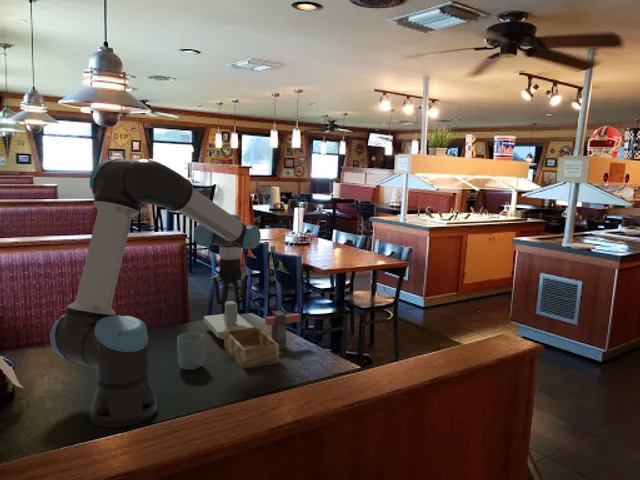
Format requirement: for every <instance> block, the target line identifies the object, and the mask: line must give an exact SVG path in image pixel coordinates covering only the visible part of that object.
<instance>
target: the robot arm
mask: <svg viewBox="0 0 640 480" xmlns="http://www.w3.org/2000/svg"><path fill="white" fill-rule="evenodd" d="M89 187H90V189H91V194H92V195H93V196H94V199H93V205H94V207H95V208H96V210H97V214H96V219H95V220H94V221H95V222H94V226H93V229H92V234H91V237H90V241H89V245H88V250H87V254H86V258H85V262H84V265H83V269H82V273H81V278H80V281H79V284H78V285H79V286H78V290H77V292H76V293H77V294H76V297H75V300H74V301H73V302H71V303H70V304H68V305H67V307H66V311H65V314H63V315H61V316H60V317H59V319H57V320H55V321H54V323H53V325H52V327H51V330H50V334H49V341H50V344H51V348H52V350H53V351H54V352H55V354H57V355H58V356H59V357H61V358H63V359H65V360H66V361H68V362H71V363H78V364H81V365H84V366H87V367H92V368H95V369H96V378H97V379H96V380H97V383H96V384H97V386H96V390H95V393H94V396H93V400H92V404H91V406H90V421H91V422H92V423H93V424H94V425H95V426H98V427H102V428H108V429H117V428H126V427H130V426H134V425H137V424H141V423H143V422H145V421H146V420H148V419H150V418H151V417H152V416H154V415H155V413H156V412H157V409H158V407H157V398H156V395H155V393H154V390H153V387H152V385H151V382H150V380H149V336H148V329H147V325H146V324H145V322H144V321H143V320H141V319H140V318H137V317H134V316H131V315H116V312H115V310H114V309H113V308H112V303H113V299H114V297H115V296H114V295H115V292H116V291H115V290H116V287H117V282H118V278H119V273H120V270H121V267H122V261H123V258H124V257H123V256H124V253H125V249H126V244H127V241H128V237H129V232H130V228H131V223H132V220H133V218H135V217H136V216H138V215H140V212H141V208H142V205H153V206H158V207H162V208H165V209H166V210H169V211H170V212H174V213H175V212H179V214H182V215H184V216H186V217H188V218H189V219H190V220H192V221H193V222H196V224H197V225H196V226H195V228H194V230H193V238H194V241H195V242H196V244H198V245H199V246H201V247H203V246H204V247H205V246H206V247H209V246H219V249H218V250H219V257H220V258H219V259H218V261H219V271H218V272H217V274H216V275H214V276H213V275H211V277H210V278H211V281H212V283H213V290H214V301H215V303H216V304H217V305H219V306H220V314H223V321H224V322H225V323H227V305H226V304H225V302H227V293H228V288H229V285H231V284H232V289H233V290H232V291H233V295H234V302H235V303H236V322H237V313H240V311H241V310H240V309H241V304H242V303H243V302H245V300H246V293H247V283H248V282H247V281H248V279H249V274H246V273H243V272H242V270H241V268H242V258H240V257H241V256H242V255H241V254H242V253H241V252H242V251H241V249H246V250H247V249H251V250H252V249H256V248H257V247H258V246H259V244H260V242H261V239H262V237H261V231H260V229H259V228H258V226H256V225H252V224H245V223H244V222H242V221H241V217H240V215H238V214H231V213H229V212H227V211H226V210H225V209H224V208H222V207H220V206H219V205H218V204H216V203H215V202H213V201H212V200H211V199H209V198H208V197H206V196H205V195H203V194H202V193H201V192H199V191H198V190H196V189H195V188H194V185H193V183H192V182H191V181H190V180H189V179H187V178H186V177H185V176H183V175H182V174H180V173H179V172H177V171H175V170H174V169H172V168H170V167H168V166H166V165H165V164H162V163H160V162H158V161H156V160H152V159H151V160H150V159H149V158H148V159H147V158H146V159H141V158H140V159H132V158H128V159H125V158H124V159H123V158H113V159H108V160H104V161H102V162H100V163H98V164H97V165H96V166H95V167H94V169H93V170H92V172H91V174H90V176H89ZM240 278H241V282H240V290H239V283H238V281H239V279H240ZM220 280H221V281H222V284H221V285H222V288H221V294H220V286H219V285H220V284H219V281H220ZM239 291H240V292H239Z"/></svg>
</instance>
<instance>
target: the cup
mask: <svg viewBox="0 0 640 480" xmlns="http://www.w3.org/2000/svg"><path fill="white" fill-rule="evenodd" d="M176 343H177V344H176V345H177V346H176V347H177V361H178V364H179V366H180V368H182V369H183V370H186V371H194V370H197V369H199V368H201V366H202V365H203V364H204V359H205V335H204V334H203V333H200V332H185V333H182V334H179V335H178V336H177V341H176Z"/></svg>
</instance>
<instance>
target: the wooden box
mask: <svg viewBox="0 0 640 480" xmlns="http://www.w3.org/2000/svg"><path fill="white" fill-rule="evenodd" d="M271 314H272V315H271V316H276V325H271V336H270V335H269V334H267V333H266V332H265V331H263V329H261V328H260V327H259V326H253V327H251V328H243V329H235V330H227V331H224V339H223V340H224V341H223V342H224V349H225V351H227V353H229V355H230V356H231V358H232V359H234V361H235V362H236V364H238V366H240V368H241V369H243V370H244V369H249V368H250V369H251V368H256V367H261V366H262V367H263V366H268V365H273V364H279V363H280V350H284V349H287V325H286V323H285V315H286V313H285V312H283V311H282V310H275V311H271Z"/></svg>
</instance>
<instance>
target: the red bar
mask: <svg viewBox="0 0 640 480" xmlns="http://www.w3.org/2000/svg"><path fill="white" fill-rule="evenodd" d="M264 319H265V320H264V322H265V325H266V326H272V325H276V316H272V315H270V316H265V317H264ZM299 322H301V314H300V313H298V312H295V313H289V314H288V313H287V314H285V324H293V323H299Z"/></svg>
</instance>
